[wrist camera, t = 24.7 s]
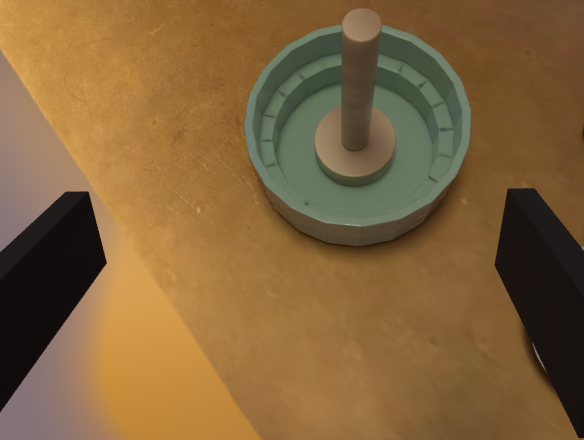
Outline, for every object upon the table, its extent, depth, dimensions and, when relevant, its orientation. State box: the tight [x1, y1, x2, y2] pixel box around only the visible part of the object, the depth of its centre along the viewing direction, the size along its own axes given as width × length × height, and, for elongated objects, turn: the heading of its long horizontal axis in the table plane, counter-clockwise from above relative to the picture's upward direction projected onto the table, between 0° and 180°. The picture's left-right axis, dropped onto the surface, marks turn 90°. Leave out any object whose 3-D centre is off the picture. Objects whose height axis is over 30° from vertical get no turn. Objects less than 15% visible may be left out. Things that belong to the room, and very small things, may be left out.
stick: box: [314, 8, 396, 186], centre depth 33 cm, size 6×6×15 cm
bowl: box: [244, 24, 471, 246], centre depth 38 cm, size 15×15×6 cm
